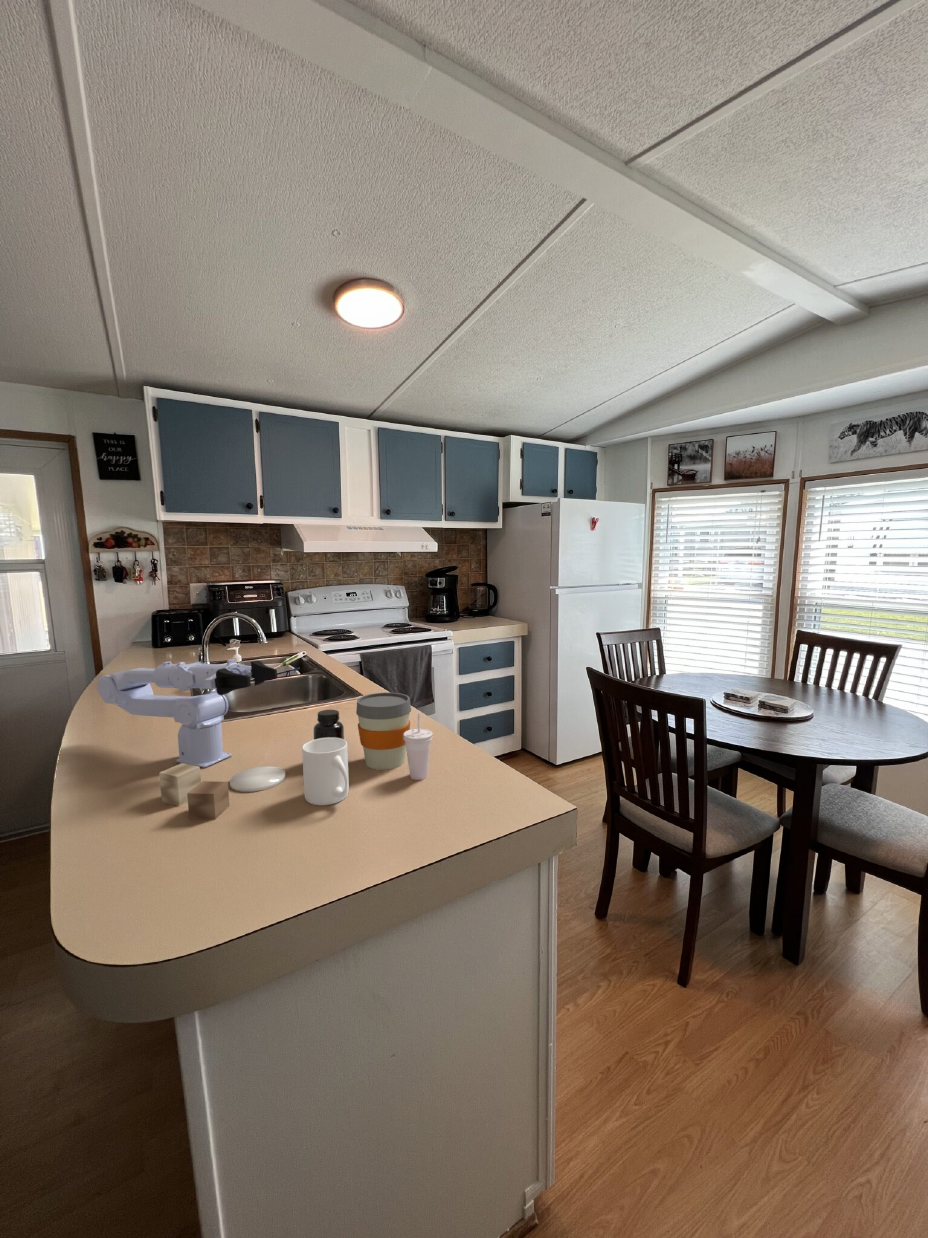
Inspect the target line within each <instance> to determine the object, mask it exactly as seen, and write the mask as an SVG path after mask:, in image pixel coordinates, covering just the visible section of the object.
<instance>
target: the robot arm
mask: <svg viewBox="0 0 928 1238" xmlns="http://www.w3.org/2000/svg"><path fill="white" fill-rule="evenodd" d="M252 679H253V681H254V682H253V683H254V686H258V685H261V684H263V683H265V682H267V681H268V682H269V681H273V680H276V679H278V671H277V669H276V668H273V667H270V666H268V665H265V664H264V663H263V662H262V660H252V661H250V666H249V665H245V664H240V663H237V660H236V659H235V658H231V659H227V661H226V663H224V664H223V663H204V662H202V661H199V660H198V661H194V662H193V663H188V664H187V663H186V662H185V661H179V662H177V663H172V661H163V662H162V664H159V665H158V666H156V667H155V668H150V667H149V668H148V667H147V668H146V667H137V668H133V669H132V668H131V669H128V670H124V671H119V672H115V673H110V674H109V675H108V674H106V675H105V674H104V675H102V676H100V677H99V679H98V680H97V684H96V687H97V688H96V689H97V692H98V694H99V696H100V697H101V699H102V700H103V702H104V703H105V704H109V705H116V706H117V707H119V708H120V709H122V710H124V711H125V712H127V713H129V714H130V715H132V716H142V717H143V716H144V717H145V716H147V717H159V718H160V717H161V718H173V720H174V722H175V723H180V724H182V725H181V726H180V727H179V729H178V733H177V744H178V757H179V758H177V759H176V760H175V761H176V762H177V763H179V764H181V763H184V764H189V765H194V766H198V767H200V768H207V767H210V766H211V765H214V764H216V763H218V762H221V761H223V760H226V759H228V758H230V757H232V756H233V754H232V753H231V752H225V751H224V745H223V742H224V741H223V726H222V721H224V719H225V717H224V716H225V715H227V713H228V710H229V701H228V699H227V697H226V695H228V694H229V693H231V692H232V691H233V692H236V691H239V690H240V689H244V688H249V687H252V682H251V680H252ZM151 684H154V685H156V686H157V687H158V688H162V689H163V688H164V689H177V690H179V691H180V692H185V691H188V690H190V689H191V690H192V689H203V690H205V689H207V690H214V691H212V692H210V693H207V694H200V695H195V696H185V695H184V696H182V695H180V696H179V695H162V694H161V695H160V694H159V695H157V694H154V690H153V688H152V685H151Z"/></svg>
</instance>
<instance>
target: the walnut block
mask: <svg viewBox="0 0 928 1238" xmlns="http://www.w3.org/2000/svg"><path fill="white" fill-rule="evenodd" d="M229 792H230V791H229V781H211V780H210V781H204V780H203V781H202V780H201V783H200V784H199V785H197V786H196V787H195V788H193V789H192V790H191V791H189V792H188V793H187V797H188V802H187V808H188V819H191V820H192V819H193V820H216V819H218V817H220V816H221V815H222V814H223V813H224V812H225V811H226V810H228V809H229V807H230V796H229V795H230V794H229Z"/></svg>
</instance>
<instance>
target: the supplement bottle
mask: <svg viewBox="0 0 928 1238" xmlns="http://www.w3.org/2000/svg"><path fill="white" fill-rule="evenodd" d="M316 720H317V723H316V724H315V725H314V726H313V740H315V739H320V738H341V739H344V740H345V729H344V728H345V727H344V725H343V723H342V722H341V721H340V712H339V711H338V710H336V709H324V710H319V711H318V712H317V719H316Z"/></svg>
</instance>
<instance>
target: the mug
mask: <svg viewBox="0 0 928 1238" xmlns="http://www.w3.org/2000/svg"><path fill="white" fill-rule="evenodd" d="M301 751H302V766H303V767H302V769H303V772H302V773H303V791H304V799H305V801H306V802H308V803H309V804H311V805H314V806H329V805H334V804H337V803H340V802H342V801H343V800H344V799H345V798H346V797H347V796H348V794H349V790H350V789H349V788H350V784H349V781H350V780H349V758H348V757H349V756H348V755H349V754H348V753H349V752H348V751H349V750H348V741H346V740H345V738H344V739H341V738H320V739H315V740H314V739H312V740H310V741H307V742H306V743H304V744H303V745H302V747H301Z"/></svg>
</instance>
